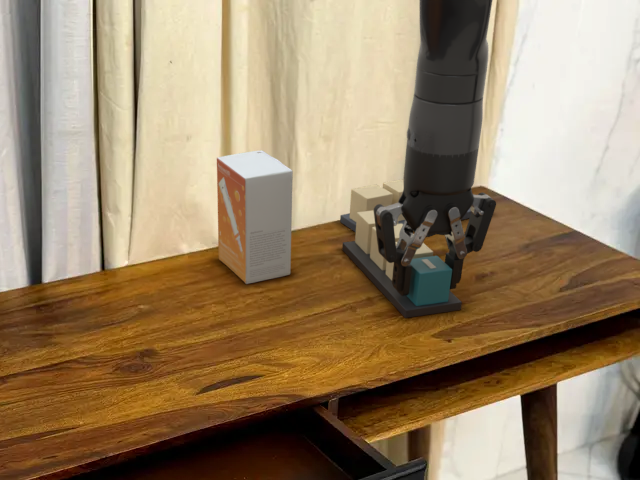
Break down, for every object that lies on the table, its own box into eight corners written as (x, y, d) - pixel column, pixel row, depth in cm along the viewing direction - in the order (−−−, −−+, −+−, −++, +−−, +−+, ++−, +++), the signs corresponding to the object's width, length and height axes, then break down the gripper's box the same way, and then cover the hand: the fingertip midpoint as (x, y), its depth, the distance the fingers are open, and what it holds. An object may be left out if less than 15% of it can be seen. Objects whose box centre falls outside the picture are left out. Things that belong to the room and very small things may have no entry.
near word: (342, 249, 127) (344, 211, 124) (392, 243, 129) (395, 205, 126) (405, 318, 112) (409, 277, 109) (461, 310, 114) (466, 269, 111)
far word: (459, 197, 141) (463, 162, 138) (489, 214, 137) (495, 178, 133) (339, 222, 134) (341, 185, 131) (367, 240, 129) (370, 203, 126)
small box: (217, 260, 124) (215, 156, 116) (262, 251, 127) (263, 148, 119) (245, 285, 119) (244, 177, 111) (291, 275, 121) (294, 169, 113)
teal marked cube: (433, 287, 116) (437, 254, 114) (448, 301, 113) (452, 268, 111) (402, 291, 115) (405, 258, 113) (416, 306, 112) (420, 272, 110)
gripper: (394, 158, 99) (380, 312, 109) (522, 144, 102) (497, 295, 112) (365, 135, 104) (355, 284, 115) (488, 123, 108) (467, 268, 118)
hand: (425, 288), depth 113 cm, fingers open, 5 cm apart
